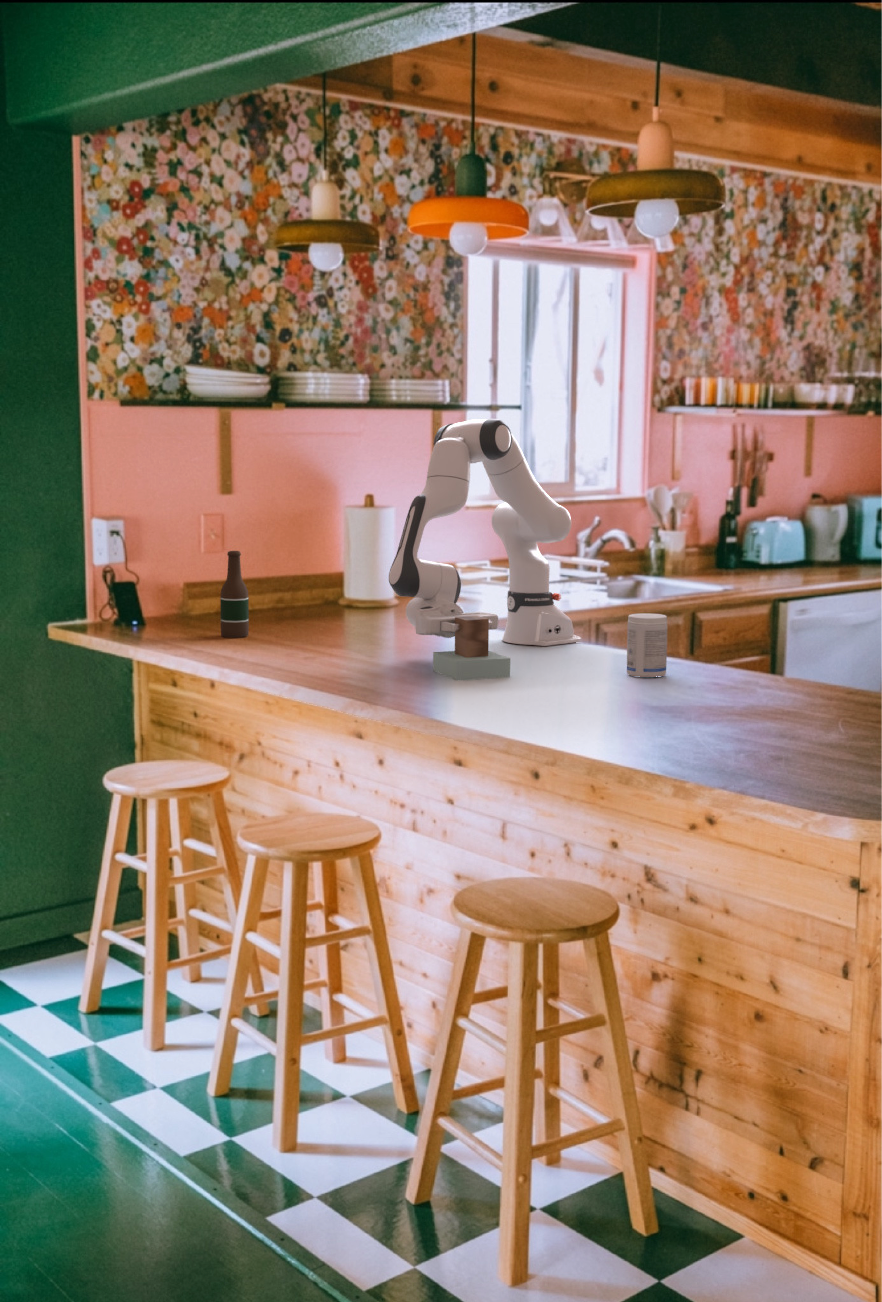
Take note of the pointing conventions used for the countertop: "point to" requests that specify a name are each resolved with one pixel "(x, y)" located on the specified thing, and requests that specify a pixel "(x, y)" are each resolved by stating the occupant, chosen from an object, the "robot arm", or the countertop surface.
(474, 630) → the walnut box
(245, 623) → the beer bottle
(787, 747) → the countertop surface
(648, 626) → the supplement tub
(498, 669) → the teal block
